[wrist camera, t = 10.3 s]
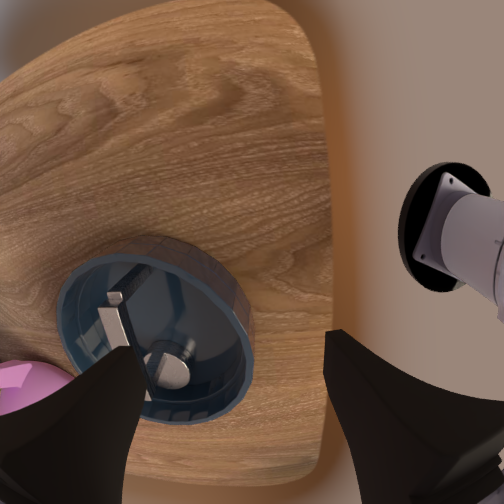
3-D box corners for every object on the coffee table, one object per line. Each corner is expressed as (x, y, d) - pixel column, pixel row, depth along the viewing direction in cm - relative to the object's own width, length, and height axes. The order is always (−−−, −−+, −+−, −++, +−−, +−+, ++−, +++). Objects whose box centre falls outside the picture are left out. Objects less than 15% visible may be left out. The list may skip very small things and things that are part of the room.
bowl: (282, 271, 19) (289, 302, 15) (225, 405, 23) (220, 442, 19) (95, 209, 18) (58, 222, 14) (85, 353, 22) (63, 382, 18)
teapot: (153, 459, 28) (133, 531, 16) (71, 443, 29) (44, 497, 17) (66, 323, 21) (-9, 406, 10) (-7, 326, 22) (-63, 377, 11)
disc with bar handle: (198, 377, 22) (184, 433, 16) (154, 376, 22) (133, 427, 16) (171, 259, 19) (137, 300, 13) (120, 263, 19) (76, 301, 13)
